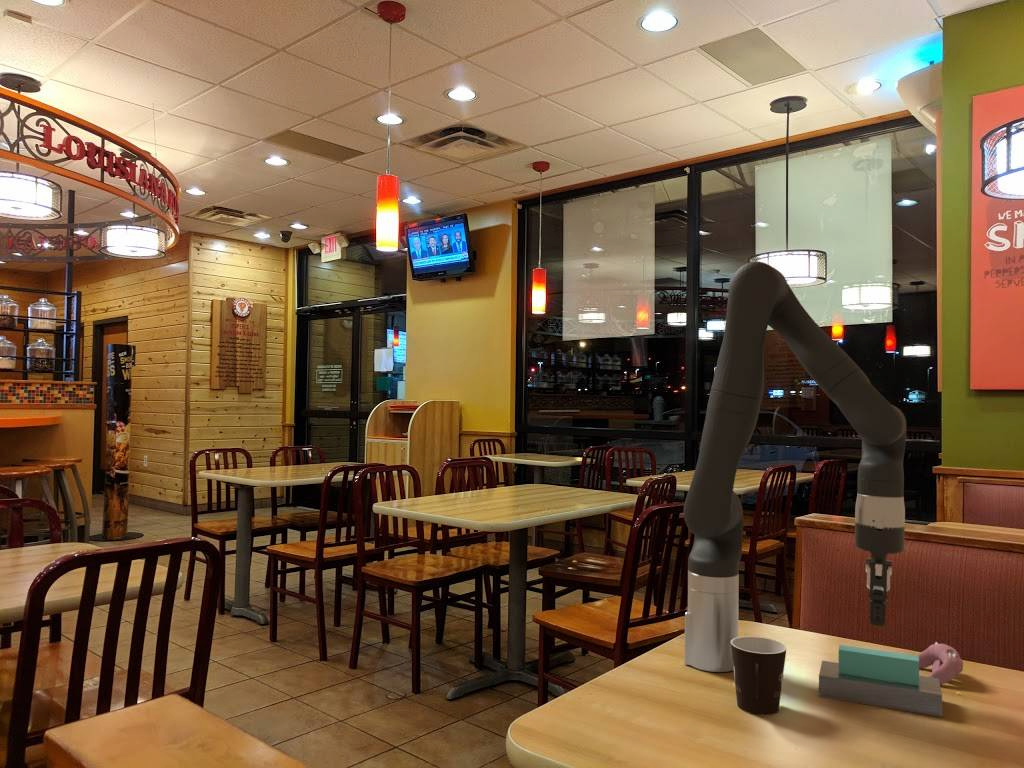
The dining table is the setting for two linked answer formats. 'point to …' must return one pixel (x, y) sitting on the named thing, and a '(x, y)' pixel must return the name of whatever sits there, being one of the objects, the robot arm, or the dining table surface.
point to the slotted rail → (881, 691)
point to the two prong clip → (879, 665)
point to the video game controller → (941, 662)
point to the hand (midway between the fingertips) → (877, 618)
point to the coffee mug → (758, 673)
